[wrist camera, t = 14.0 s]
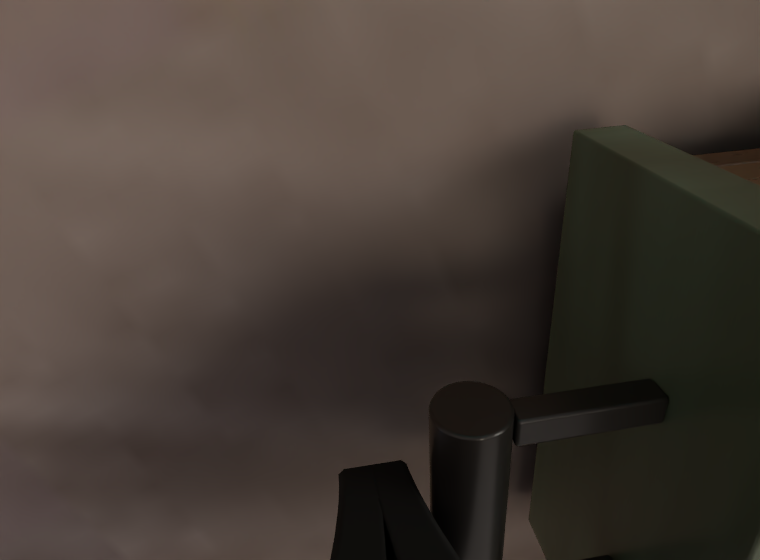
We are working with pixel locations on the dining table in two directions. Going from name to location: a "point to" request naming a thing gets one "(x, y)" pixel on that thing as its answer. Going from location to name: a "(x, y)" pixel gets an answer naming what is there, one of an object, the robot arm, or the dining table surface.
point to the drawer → (628, 372)
